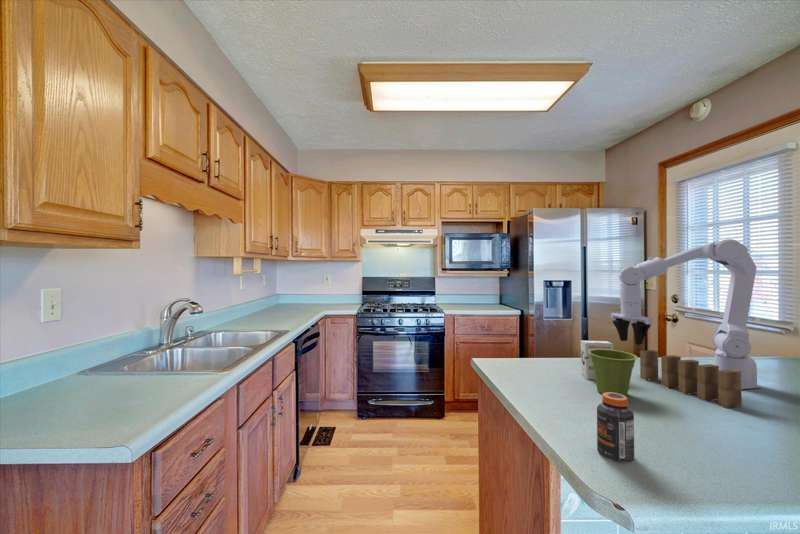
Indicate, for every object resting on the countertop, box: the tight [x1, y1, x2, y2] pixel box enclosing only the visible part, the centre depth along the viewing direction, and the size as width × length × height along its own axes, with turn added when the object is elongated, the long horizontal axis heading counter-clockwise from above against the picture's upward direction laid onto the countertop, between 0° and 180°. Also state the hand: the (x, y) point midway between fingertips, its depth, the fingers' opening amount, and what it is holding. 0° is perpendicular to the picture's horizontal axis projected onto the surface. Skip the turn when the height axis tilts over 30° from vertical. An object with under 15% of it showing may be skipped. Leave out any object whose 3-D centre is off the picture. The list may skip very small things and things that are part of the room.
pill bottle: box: [596, 392, 635, 464], centre depth 63 cm, size 6×6×11 cm
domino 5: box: [717, 369, 743, 409], centre depth 86 cm, size 5×2×9 cm, turn 102°
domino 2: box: [660, 355, 682, 388], centre depth 101 cm, size 5×2×9 cm, turn 102°
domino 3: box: [678, 359, 700, 395], centre depth 96 cm, size 5×2×9 cm, turn 102°
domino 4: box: [696, 363, 719, 401], centre depth 91 cm, size 5×2×9 cm, turn 102°
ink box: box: [580, 339, 615, 381], centre depth 109 cm, size 9×5×12 cm, turn 80°
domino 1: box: [639, 349, 659, 381], centre depth 107 cm, size 5×2×9 cm, turn 103°
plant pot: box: [588, 349, 638, 397], centre depth 95 cm, size 12×12×11 cm
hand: (631, 342), depth 114 cm, fingers open, 5 cm apart
